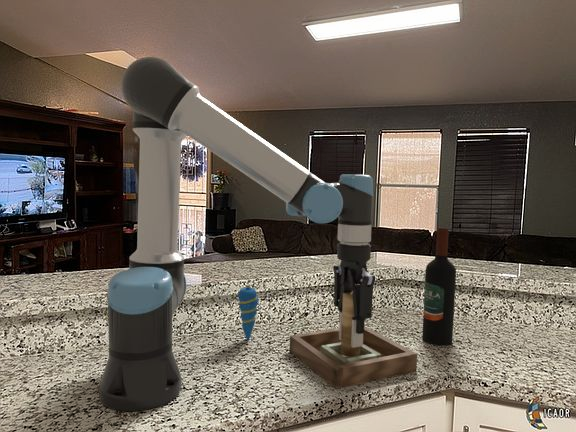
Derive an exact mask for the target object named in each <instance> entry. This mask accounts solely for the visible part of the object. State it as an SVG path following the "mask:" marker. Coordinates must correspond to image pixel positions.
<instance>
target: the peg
mask: <svg viewBox="0 0 576 432" xmlns="http://www.w3.org/2000/svg"><path fill="white" fill-rule="evenodd" d="M359 314H360V313H359ZM352 317H355V316H354V305H353V294H352V292H345V293H343V306H342V335H341V354H342V355H344V356H347V357H357V356H359V355H360V347H354V348H353V347H351V334H352Z"/></svg>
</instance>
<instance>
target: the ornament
mask: <svg viewBox="0 0 576 432" xmlns="http://www.w3.org/2000/svg"><path fill="white" fill-rule="evenodd" d="M257 294H258V293H257V291H256V289H255V288H253V287H251V286H250V284H246V285H245V287H242V288H241V289H240V290H239V291H238V294H237V296H238V301H239V304H238V308H239V310H240V319H241V322H242V323H241V327H242V331H243V333H244V337H245V338H246V340H247V341H248V340H250V338H251V335H252V333H253V331H254V330H253V329H254V326H255V323H256V316H257V312H258V304H259V298H258V295H257Z"/></svg>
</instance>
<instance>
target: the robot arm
mask: <svg viewBox="0 0 576 432" xmlns="http://www.w3.org/2000/svg"><path fill="white" fill-rule="evenodd" d="M121 92H122V96H123V99H124V100H125V103H126V104H127V105H128V107H129V109H131V110H132V131H133V132H134V134H136V136H138V138H139V161H138V163H139V166H138V167H139V168H138V196H137V197H138V198H137V199H138V203H137V204H138V205H137V235H136V236H137V242H136V244H137V245H136V250H135V251H134V252H133V253H131V255H130V256H129V258H128V259H129V261H128V262H129V265H128V266H129V267H128V269H127V270H121V271H118V272H117V273H115V274H114V275H112V277H111V278H110V280H109V281H108V285H107V286H108V288H107V289H108V290H107V293H106V301H107V317H108V318H107V319H108V321H107V322H108V324H107V325H108V327H107V328H108V358H107V362H106V364H105V366H104V367H105V368H104V371H103V374H102V377H101V380H100V381H99V382H100V383H99V387H98V389H99V393H98V394H99V395H98V398H99V401H100V403H101V404H102V405H103V406H105V407H106V408H108V409H111V410H116V411H122V412H138V411H144V410H145V411H146V410H150V409H154V408H157V407H160V406H164V405H165V404H167V403H170V402H171V401H172V400H174V399H175V398H177V396H179V394H180V393H181V390H182V375H181V372H180V369H179V366H178V363H177V360H176V357H175V355H174V352H173V315H174V314H175V312H176V310H177V308H178V307H179V306H180V304H182V301H183V300H184V297H185V295H186V292H187V279H186V276H185V272H184V271H185V256H184V255H183V254H182V253H181V252H180V251H179V249H178V244H179V218H180V217H179V216H180V215H179V213H180V187H181V186H180V185H181V184H180V183H181V158H182V157H181V155H182V142H183V140H184V139H186V137H189V138H191V139H192V140H193V141H195V142H196V143H198V144H200V145H201V146H203V147H204V148H206V149H207V150H208V151H210V152H211V153H212V154H214V155H216V156H217V157H219V158H220V159H222V160H223V161H225V162H226V163H228V165H230V166H232V167H233V168H235V169H236V170H238V171H240V172H241V173H243V174H244V175H245V176H247V177H248V178H249V179H251V180H253V181H254V182H256V183H258V184H259V185H261V186H262V187H263V188H265V189H266V190H268V191H269V192H270V193H272V194H273V195H275V196H276V197H278V198H279V199H280V200H282V201H283V202H285V211H286V213H287V214H288V215H289V216H294V217H295V216H296V217H306V218H308V220H309V221H312V222H313V223H315V224H328V223H331V222H333V221H335V220H337V218H338V223H337V241H338V243H337V252H336V257H337V259H338V260H340V264H335V265H333V267H332V268H333V277H334V279H333V306H334V307H337V311H338V312H339V313H338V315H339V316H338V318H339V319H338V322H339V327H338V328H339V339H340V340H341V335H342V306H343V293H345V292H352V294H353V305H354V316H355V317H352V334H351V347H353V348H354V347H360V346H363V333H364V326H365V323H366V322H365V321H366V319H368V320H369V319H371V318H372V315H373V297H374V296H373V295H374V284H375V281H376V276H375V275H374V274H370V273H369V272H368V268H367V263H368V262H369V261H370V260H371V258H372V257H371V253H372V251H371V250H372V245H371V244H370V242H371V241H372V221H373V219H372V217H373V201H374V179H373V177H372V176H371V175H369V174H349V173H348V174H344V173H343V174H341V175H340V176H339V180H338V182H325V181H324V180H323V179H321V178H320V177H318V176H317V175H315V174H314V173H312V172H310V170H308V169H307V168H305V167H304V166H302V165H301V164H299V163H298V161H295V160H294V159H292V157H289V156H288V155H287V154H286V153H284V152H282V151H281V150H280V149H278V148H277V147H275V146H274V145H272V144H271V142H270V143H269V142H268V141H266V140H265V139H264V138H262V137H261V136H260V135H258V134H257V133H255V132H254V131H252V130H251V129H249V128H248V127H247V126H245V125H244V124H242V123H241V122H240V121H238V120H236V119H235V118H234V117H232V116H231V115H230V114H228V113H227V112H225V111H224V110H222V109H221V108H219V107H218V106H216V105H215V104H214V103H212V102H211V101H209V100H208V99H206V98H205V97H204V96H202V95H201V91H200V88H199V86H197V85H196V84H194V82H192V81H191V80H189V79H188V78H187V77H185V76H184V75H183V74H182V73H181V72H180V71H178V69H176V68H175V66H173V65H172V64H171V63H170V62H169V61H167V60H164V59H163V58H161V57H155V56H146V57H141V58H138V59H136V60H134V61H132V62H131V63H130V64H129V65H128V66H127V68H126V69H125V70H124V73H123V75H122V78H121ZM359 313H360V314H359Z"/></svg>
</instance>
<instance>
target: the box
mask: <svg viewBox="0 0 576 432" xmlns="http://www.w3.org/2000/svg"><path fill="white" fill-rule="evenodd" d="M289 352H290V353H291V354H292V355H293V356H294V357H296V358H297V359H298V360H300V362H302V363H303V364H304V365H306V366H307V367H308V368H309V369H311V370H312V371H313V372H314V373H315V374H317V375H318V376H319V377H321V378H322V380H324V381H325V382H327V383H328V384H329V385H330V386H331V387H332V388H334V389H335V390H339V389H342V388H343V389H344V388H348V387H353V386H357V385H360V384H365V383H369V382H374V381H378V380H382V379H388V378H392V377H397V376H400V375H404V374H405V375H406V374H409V373H414V372H417V368H418V367H417V365H418V363H417V362H418V353H417V352H415V351H413V350H412V349H409V348H408V347H405V346H404V345H401V344H400V343H398V342H397V341H394V340H393V339H390V338H388V337H386V336H384V335H382V334H380V333H378V332H376V331H375V330H373V329H371V328H369V327H367V326H365V325H364V333H363V346H360V355H359V356H357V357H347V356H344V355H342V354H341V340H340V339H339V327H337V328H331V329H324V330H317V331H312V332H305V333H299V334H293V335H289Z"/></svg>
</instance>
